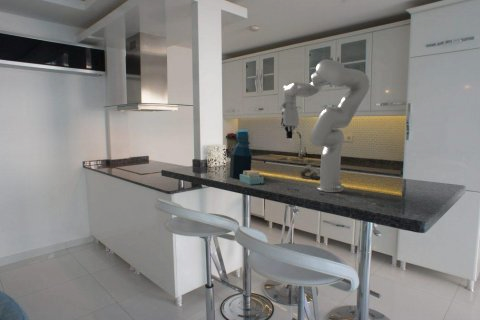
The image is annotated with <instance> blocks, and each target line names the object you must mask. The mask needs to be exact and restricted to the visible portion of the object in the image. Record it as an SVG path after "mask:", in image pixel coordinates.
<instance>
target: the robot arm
mask: <svg viewBox="0 0 480 320" xmlns="http://www.w3.org/2000/svg"><path fill="white" fill-rule="evenodd" d="M369 79H370V78H369V77H368V75H367V74H366V73H365V72H363V71H362V70H359V69H354V68H353V69H352V68H347V67H345V65H344V64H343V63H342V62H340V61H337V60H332V59H327V58H326V59H322V60H320V61H319V62H318V63H317V64H316V67H315V71H314V72H313V73H311V82H308V83H305V82H295V81H294V82H292V83H289V84H285V85H283V87H282V104H281V107H282V109H281V115H280V125H281V129H284V130H285V132H286V133H285V134H286V139H293V132H294V130H296V129H297V128H298V126H299V125H300V124H299V123H300V122H299V121H300V118H299V112H298V111H299V110H298V108H297V97H300V98H301V97H302V98H309V97H312V96H314V95H316V94H318V93H319V92H320V91H321V90H322V89H323V87H324V86H326V85H328V84H331V85H333V86H335V87H336V88H337V87H338V88H343V89H349V90H348V91H347V92H346V93H345V94H344V95H343V97H342V98H341V100H340V102H339V104H338V105H337V106H336V107H331V106H330V107H327V108H324V109H323V110H322V111H321V112H320V114H319V116H318V118H317V119H316V123H315V124H314V126H313V128H312V130H311V132H310V137H309V138H310V142H311V144H312V145H313V146H314V147H317V148H318V147H319V148H323V149H322V152H321V156H320V171H321V173H320V179H319V180H320V181H319V185H318V186H316V190H318V191H320V192H325V193H341V192H343V190H344V189H345V185H344V184H342V182H341V181H340V180H341V162H342V161H341V159H342V151H343V150H342V149H343V144H344V139H345V135H344V133H343V131H342V130H341V129H342V128H347V127H348V126H349V124H351V122H352V120H353V118H354V116H355V114H356V113H357V111H358V108H359V107H360V105H361V104H362V102H363V100H364V99H365V97H366V95H367V94H368V92H369V90H370V80H369Z"/></svg>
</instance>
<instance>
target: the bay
mask: <svg viewBox="0 0 480 320" xmlns="http://www.w3.org/2000/svg"><path fill="white" fill-rule="evenodd" d="M239 182H242V183H244V184H247V185H259V184H260V183H261V184H264V182H265V181H264V176H259V177H255V178H251V177H249V176H246V175H242V174H240V179H239Z"/></svg>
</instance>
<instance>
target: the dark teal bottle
mask: <svg viewBox="0 0 480 320" xmlns="http://www.w3.org/2000/svg"><path fill="white" fill-rule="evenodd" d="M235 136H236V137H235V138H236V140H237V143H236V145H234V147H233V149H232V151H231V153H230V161H229V162H230V163H229V177H231V178H233V179H239V180H240V174H242V175H243V171H251V170H252V158H253V157H252V152H251V149H250V144H251V142H250V140H249V139H250V138H249V130H246V129H240V130H237V131H236V135H235Z"/></svg>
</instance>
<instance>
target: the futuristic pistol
mask: <svg viewBox="0 0 480 320" xmlns="http://www.w3.org/2000/svg"><path fill="white" fill-rule="evenodd" d="M308 173H309V175H306V174H308ZM320 173H321V170H319V169H318V168H316V167H314V166H313V165H312V164H306V165H305V167H304V169H303V170H301V171H299V174H300V177H301V178H302V179H306V180H309V179H311V180H314V181H319V180H320Z"/></svg>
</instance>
